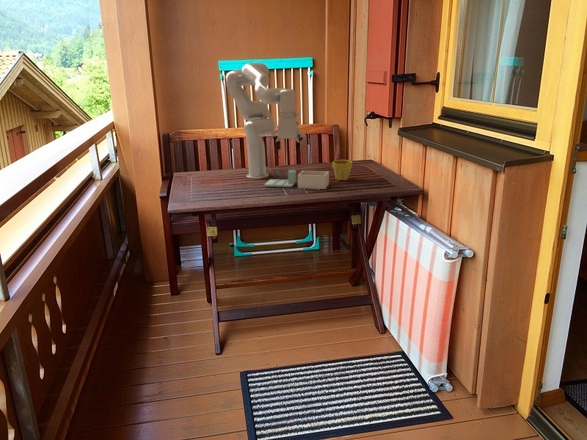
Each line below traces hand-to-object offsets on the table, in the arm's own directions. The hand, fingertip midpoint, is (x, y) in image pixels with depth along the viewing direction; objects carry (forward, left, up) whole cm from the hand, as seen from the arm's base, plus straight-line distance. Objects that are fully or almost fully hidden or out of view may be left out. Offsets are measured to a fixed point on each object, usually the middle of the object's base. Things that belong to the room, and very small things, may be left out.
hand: (288, 149), depth 231 cm
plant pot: (-17, +25, -19) cm, 36 cm away
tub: (0, +13, -19) cm, 23 cm away
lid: (0, -4, -19) cm, 19 cm away
